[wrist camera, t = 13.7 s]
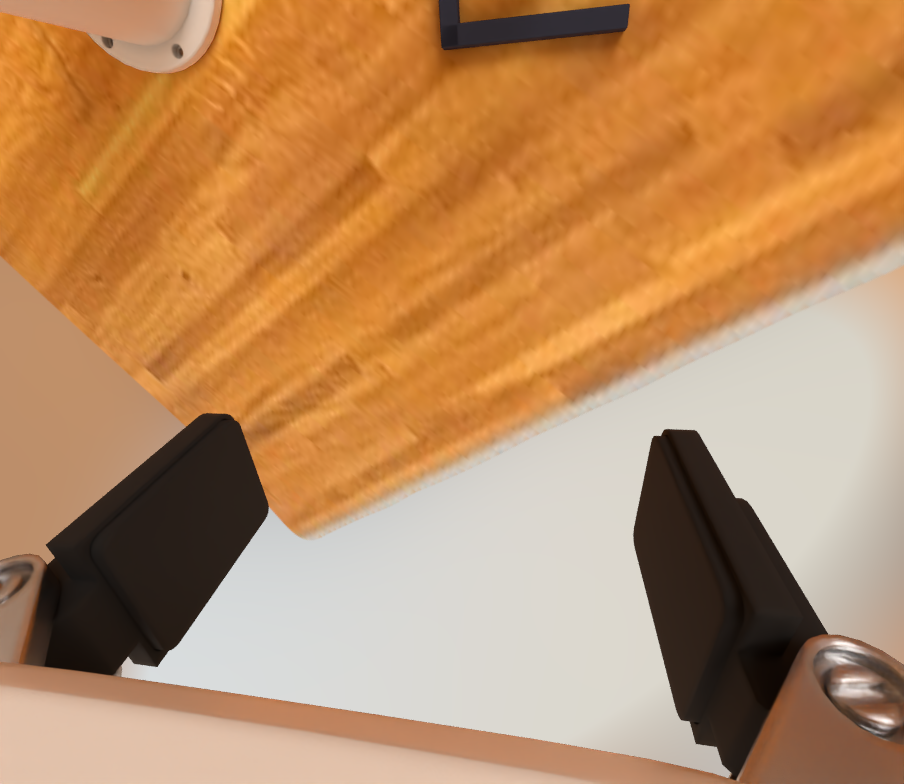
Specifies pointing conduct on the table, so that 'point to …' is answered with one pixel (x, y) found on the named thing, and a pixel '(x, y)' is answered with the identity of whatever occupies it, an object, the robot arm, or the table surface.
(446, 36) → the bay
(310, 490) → the table surface
